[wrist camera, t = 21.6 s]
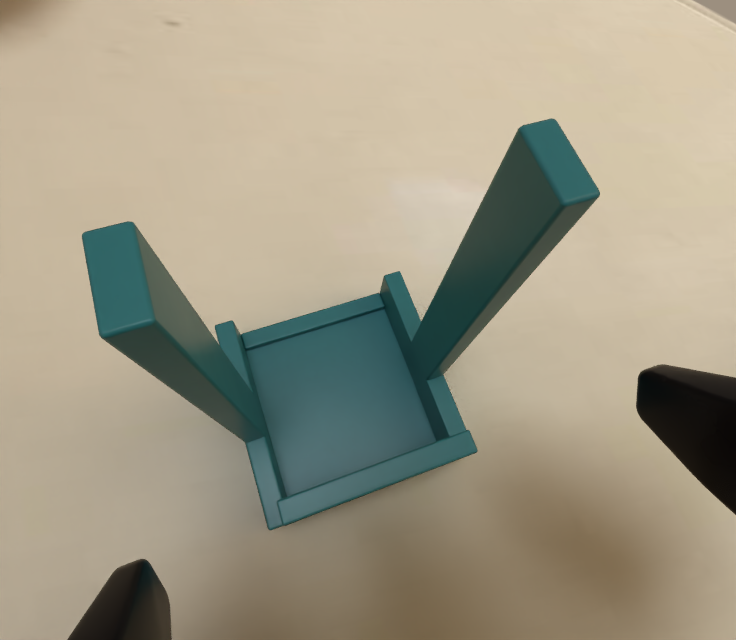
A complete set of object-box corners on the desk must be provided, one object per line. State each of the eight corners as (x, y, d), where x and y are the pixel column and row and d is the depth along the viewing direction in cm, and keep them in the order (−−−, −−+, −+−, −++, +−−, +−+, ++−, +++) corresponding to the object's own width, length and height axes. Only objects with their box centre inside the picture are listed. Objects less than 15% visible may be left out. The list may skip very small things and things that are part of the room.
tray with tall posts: (458, 458, 19) (711, 368, 6) (276, 527, 18) (141, 588, 5) (392, 295, 21) (482, -5, 9) (227, 345, 20) (51, 74, 7)
